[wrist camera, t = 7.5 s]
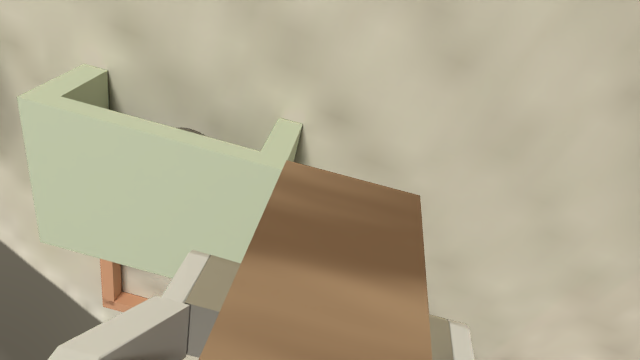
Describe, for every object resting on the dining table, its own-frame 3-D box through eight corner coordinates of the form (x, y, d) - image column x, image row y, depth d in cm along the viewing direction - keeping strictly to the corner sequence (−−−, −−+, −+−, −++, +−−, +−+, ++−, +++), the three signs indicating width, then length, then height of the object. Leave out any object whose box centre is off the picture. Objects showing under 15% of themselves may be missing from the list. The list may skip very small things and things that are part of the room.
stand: (302, 124, 27) (282, 170, 22) (275, 243, 32) (254, 301, 27) (84, 63, 27) (16, 96, 22) (92, 193, 32) (40, 242, 27)
